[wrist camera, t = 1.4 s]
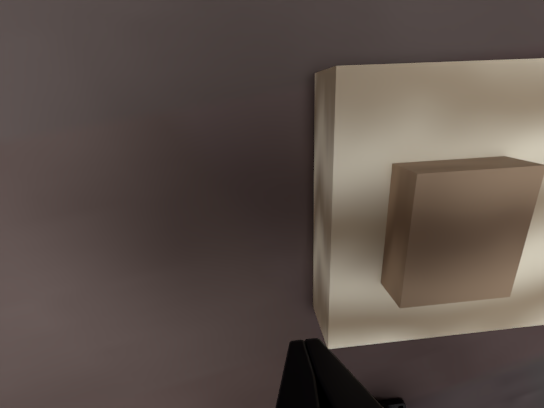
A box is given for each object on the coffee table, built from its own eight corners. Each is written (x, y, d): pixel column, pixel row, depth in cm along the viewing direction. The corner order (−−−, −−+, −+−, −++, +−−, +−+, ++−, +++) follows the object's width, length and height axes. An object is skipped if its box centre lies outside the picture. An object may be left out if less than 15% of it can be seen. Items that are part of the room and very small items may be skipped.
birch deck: (512, 286, 23) (564, 322, 20) (312, 306, 22) (327, 349, 18) (574, 63, 18) (662, 54, 14) (314, 73, 17) (336, 65, 13)
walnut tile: (478, 273, 18) (510, 296, 15) (380, 283, 17) (399, 308, 15) (505, 156, 15) (546, 165, 13) (392, 163, 15) (417, 173, 13)
